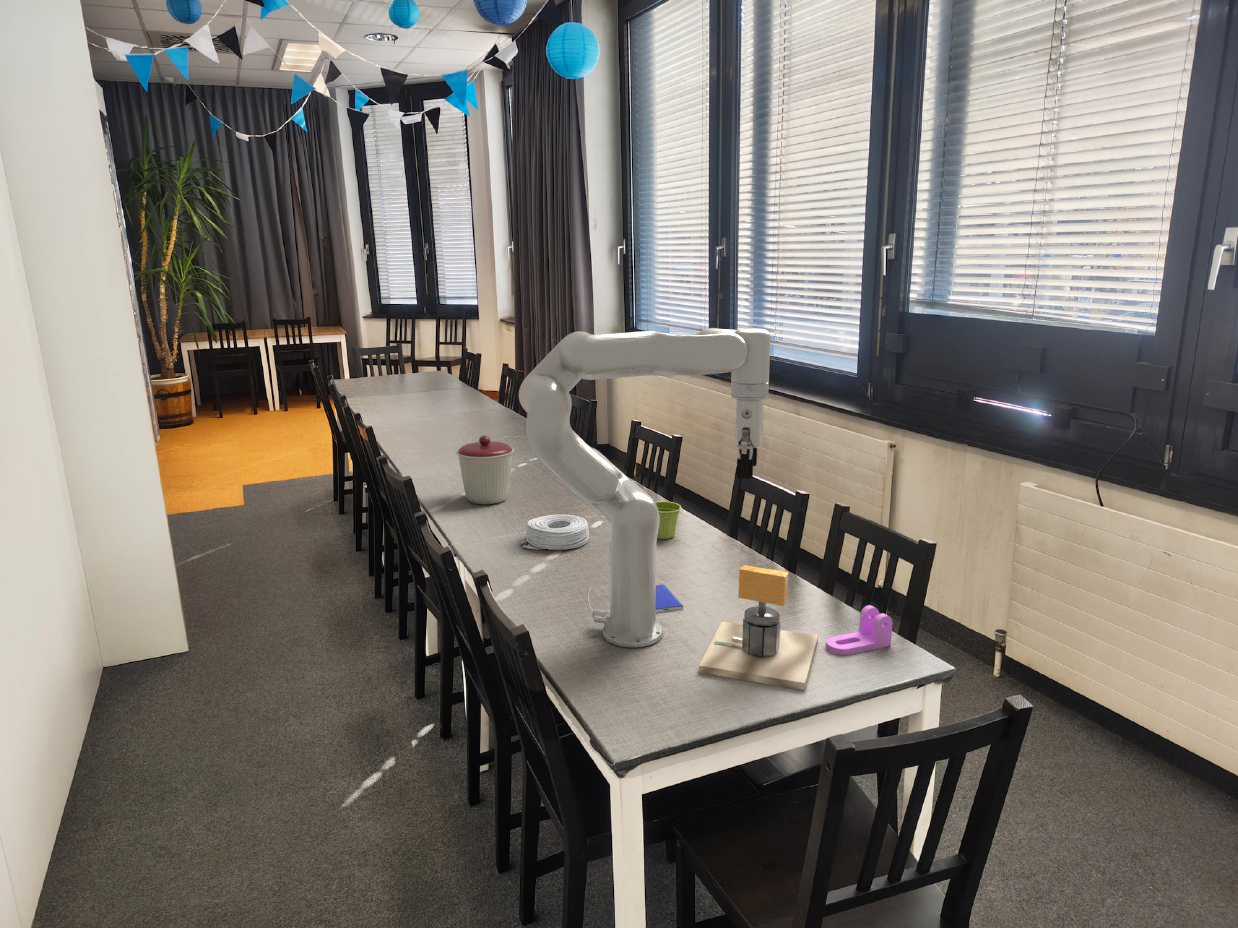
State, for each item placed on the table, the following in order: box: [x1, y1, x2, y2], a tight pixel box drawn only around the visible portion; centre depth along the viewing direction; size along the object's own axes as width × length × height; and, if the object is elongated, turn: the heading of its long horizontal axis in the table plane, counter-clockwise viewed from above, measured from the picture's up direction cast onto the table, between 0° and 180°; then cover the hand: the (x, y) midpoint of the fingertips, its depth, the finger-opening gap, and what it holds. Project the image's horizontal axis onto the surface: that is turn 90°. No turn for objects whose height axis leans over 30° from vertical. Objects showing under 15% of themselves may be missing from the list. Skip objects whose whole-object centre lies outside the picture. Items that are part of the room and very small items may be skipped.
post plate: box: [698, 621, 819, 691], centre depth 163 cm, size 20×20×8 cm
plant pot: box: [654, 500, 682, 540], centre depth 231 cm, size 9×9×9 cm
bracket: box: [825, 604, 893, 656], centre depth 168 cm, size 13×6×7 cm, turn 111°
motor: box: [732, 564, 790, 657], centre depth 162 cm, size 7×10×16 cm, turn 64°
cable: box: [520, 514, 590, 551], centre depth 228 cm, size 18×18×6 cm
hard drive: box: [656, 583, 684, 614], centre depth 191 cm, size 2×8×12 cm
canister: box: [455, 435, 515, 505], centre depth 263 cm, size 18×18×21 cm
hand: (746, 471), depth 172 cm, fingers open, 9 cm apart
